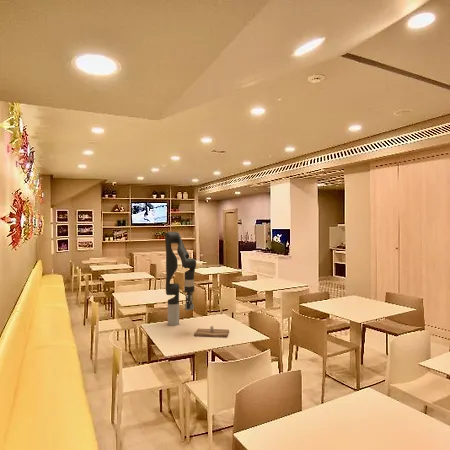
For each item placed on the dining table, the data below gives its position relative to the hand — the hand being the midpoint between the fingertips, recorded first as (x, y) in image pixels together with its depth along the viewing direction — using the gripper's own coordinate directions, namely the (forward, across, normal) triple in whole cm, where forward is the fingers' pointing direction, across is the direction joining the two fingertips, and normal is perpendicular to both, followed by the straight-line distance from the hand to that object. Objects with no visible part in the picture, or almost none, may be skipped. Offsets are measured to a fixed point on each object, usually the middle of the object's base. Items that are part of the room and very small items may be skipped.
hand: (189, 307), depth 269 cm
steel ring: (+1, 0, 0) cm, 1 cm away
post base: (+19, 0, +17) cm, 26 cm away
